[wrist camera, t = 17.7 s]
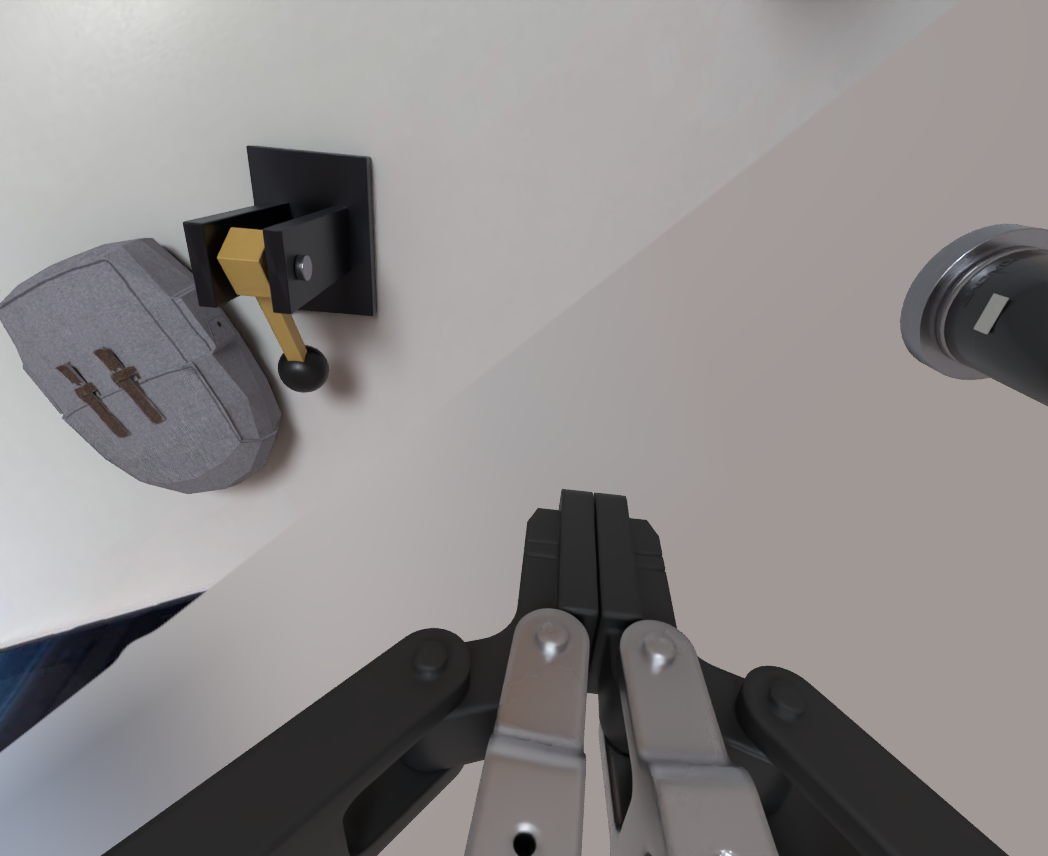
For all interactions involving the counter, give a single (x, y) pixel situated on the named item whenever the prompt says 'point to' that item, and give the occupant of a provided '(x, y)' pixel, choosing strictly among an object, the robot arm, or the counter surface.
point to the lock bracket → (298, 233)
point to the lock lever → (271, 309)
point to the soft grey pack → (144, 367)
